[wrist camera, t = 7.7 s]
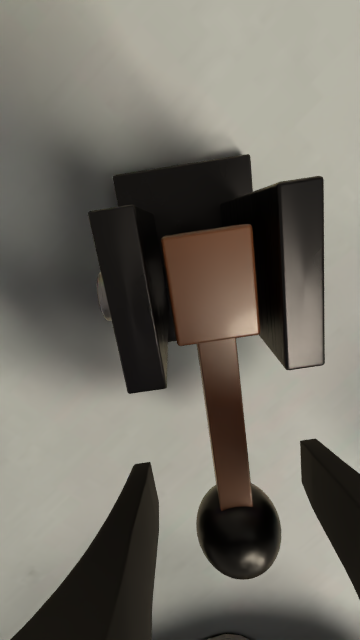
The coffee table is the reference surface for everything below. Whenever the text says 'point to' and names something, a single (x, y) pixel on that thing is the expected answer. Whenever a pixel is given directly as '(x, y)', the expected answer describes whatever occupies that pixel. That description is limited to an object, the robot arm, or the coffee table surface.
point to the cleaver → (228, 637)
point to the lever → (223, 389)
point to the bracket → (200, 214)
